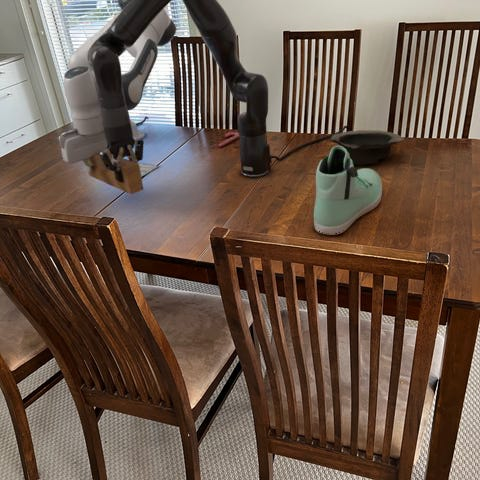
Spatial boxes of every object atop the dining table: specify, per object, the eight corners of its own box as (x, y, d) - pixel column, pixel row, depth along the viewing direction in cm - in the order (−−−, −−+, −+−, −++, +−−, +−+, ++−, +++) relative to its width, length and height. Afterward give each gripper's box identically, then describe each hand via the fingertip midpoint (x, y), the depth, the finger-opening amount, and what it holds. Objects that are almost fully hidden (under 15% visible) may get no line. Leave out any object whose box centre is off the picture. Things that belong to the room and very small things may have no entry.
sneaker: (389, 187, 148) (396, 123, 138) (356, 242, 123) (361, 168, 112) (346, 181, 154) (350, 119, 144) (306, 232, 129) (307, 161, 118)
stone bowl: (361, 175, 156) (361, 148, 152) (316, 158, 177) (315, 133, 172) (418, 157, 165) (419, 130, 161) (369, 142, 185) (369, 118, 181)
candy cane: (208, 146, 191) (208, 142, 190) (230, 134, 201) (230, 130, 201) (220, 148, 188) (220, 144, 187) (242, 136, 198) (242, 132, 197)
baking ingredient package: (112, 178, 168) (138, 163, 180) (113, 179, 168) (138, 164, 180) (133, 181, 165) (157, 165, 176) (133, 182, 165) (158, 166, 176)
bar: (89, 175, 153) (83, 151, 149) (101, 170, 156) (95, 147, 152) (131, 194, 139) (125, 169, 134) (143, 189, 141) (138, 163, 137)
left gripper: (62, 136, 136) (74, 181, 143) (123, 117, 148) (131, 159, 155) (52, 132, 140) (64, 176, 147) (112, 114, 152) (120, 155, 159)
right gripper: (100, 131, 125) (114, 190, 134) (145, 117, 134) (155, 173, 142) (86, 126, 130) (100, 184, 139) (130, 112, 138) (140, 167, 147)
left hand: (99, 167), depth 151 cm, fingers closed on bar, 4 cm apart
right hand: (128, 178), depth 141 cm, fingers closed on bar, 4 cm apart
